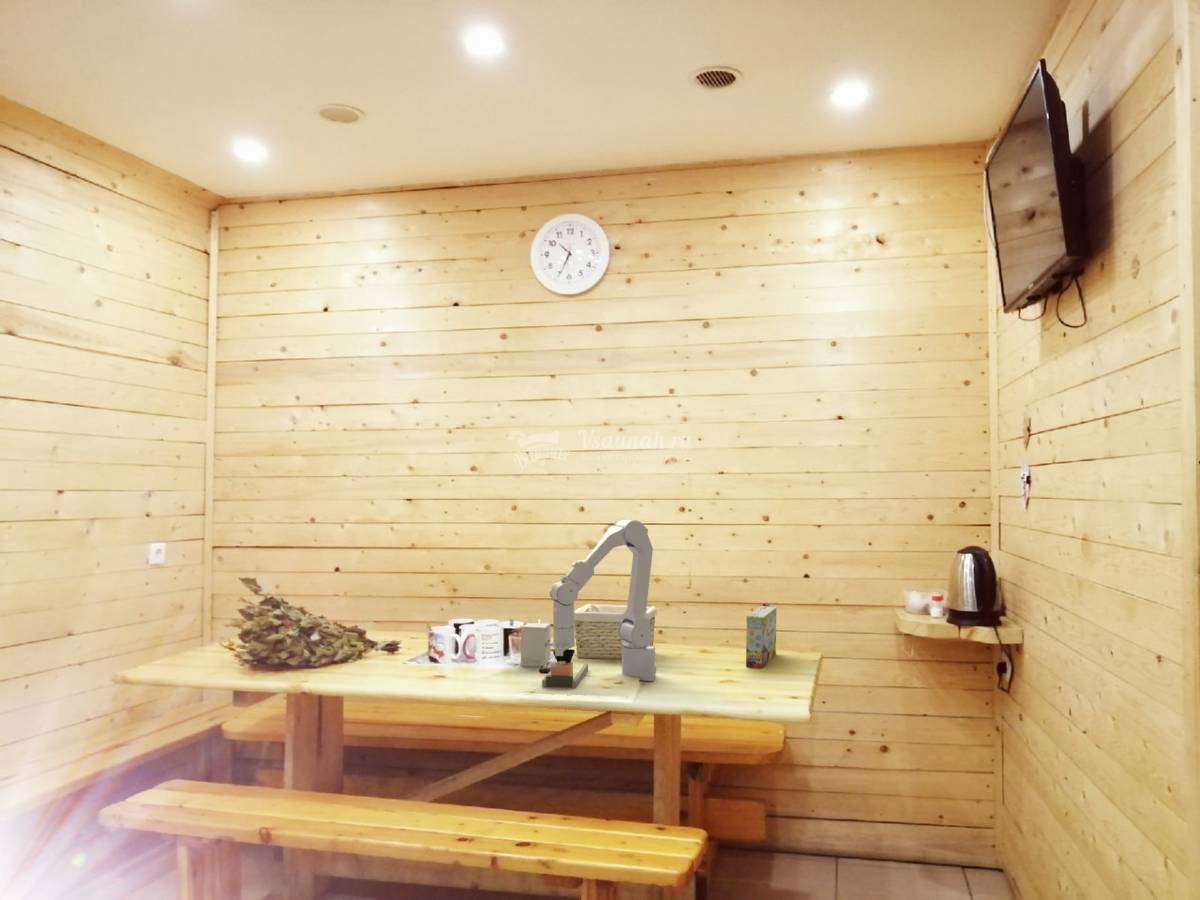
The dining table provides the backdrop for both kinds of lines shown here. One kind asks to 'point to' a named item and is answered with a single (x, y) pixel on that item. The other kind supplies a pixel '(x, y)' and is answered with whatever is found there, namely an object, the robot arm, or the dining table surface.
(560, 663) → the block
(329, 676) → the dining table surface
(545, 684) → the grey tray
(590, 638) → the storage basket
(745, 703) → the dining table surface
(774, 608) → the snack box
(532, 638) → the supplement box
